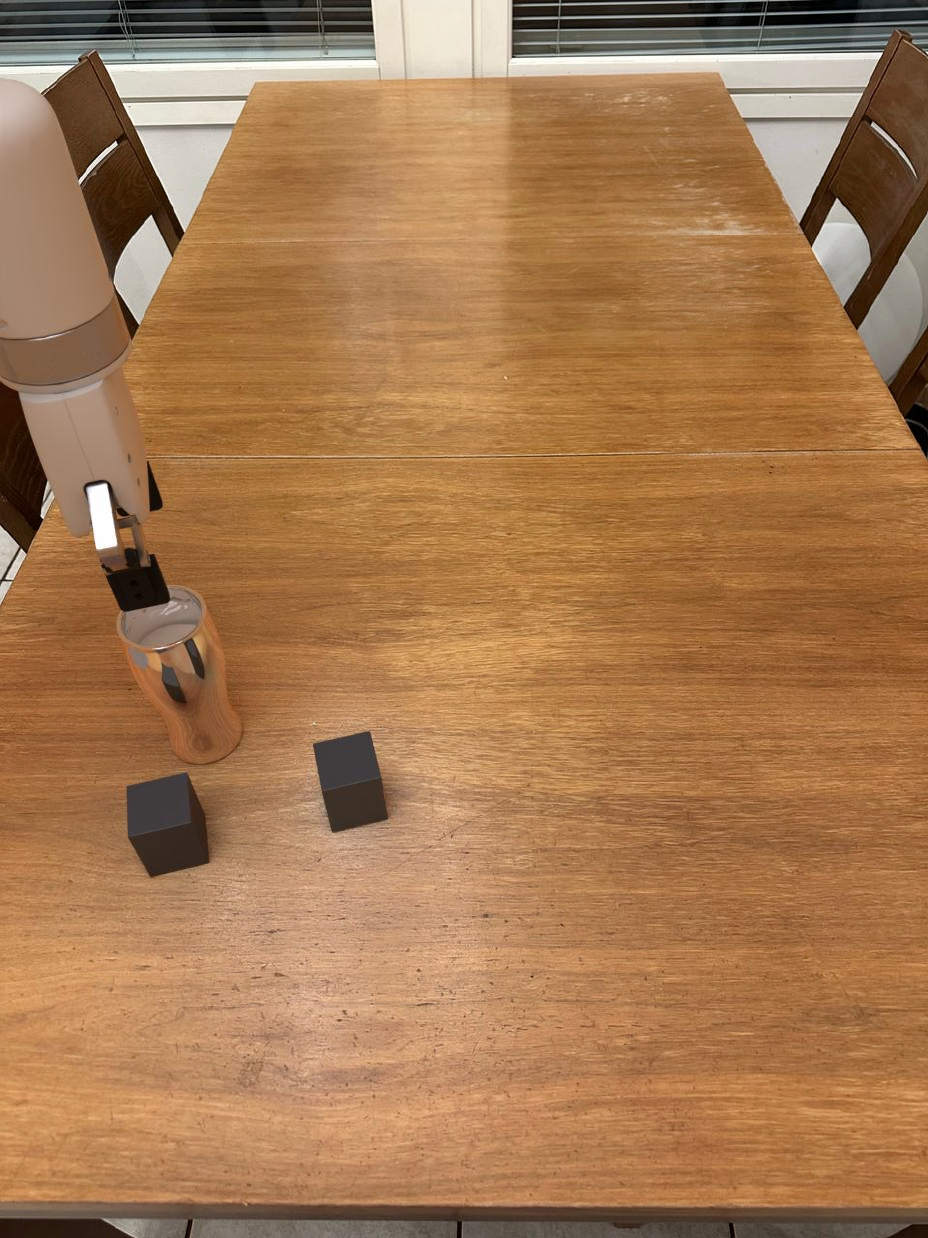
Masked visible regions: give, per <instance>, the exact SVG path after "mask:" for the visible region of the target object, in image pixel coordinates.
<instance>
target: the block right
mask: <svg viewBox="0 0 928 1238" xmlns="http://www.w3.org/2000/svg"><path fill="white" fill-rule="evenodd" d="M312 749H313V753H314V754H313V755H314V758H315V763H316V769H317V774H318V780H319V785H320V789H321V794H322V799H323V803H324V807H325V810H326V814H327V818H328V823H329V826H330V831H331V833H336V832H341V831H345V830H349V829H354V828H357V827H362V826H367V825H369V824H373V823H378V822H381V821H387V820H388V819H389V816H388V810H387V804H386V798H385V791H384V785H383V779H382V773H381V769H380V765H379V761H378V757H377V753H376V750H375V745H374V741H373V736H372V733H371V730H366V731H362V732H358V733H354V734H353V733H352V734H349V735H344V736H340V737H336V738H331V739H328V740H323V741H322V740H321V741H317V742H314V743H312Z"/></svg>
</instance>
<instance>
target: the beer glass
mask: <svg viewBox="0 0 928 1238" xmlns="http://www.w3.org/2000/svg"><path fill="white" fill-rule="evenodd" d="M166 585H167V588H168V591H169V593H170V601H169V602H168V603H166V604H162V605H157V606H153V607H148V608H143V609H138V610H133V611H129V612H124V611H122V610H121V609H120V610H119V613H118V615H117V617H116V623H115V624H116V625H115V627H116V632H117V635H118V637H119V639H120V643H121V647H122V649H123V653H124V657H125V659H126V661H127V664H128V667H129V669H130V671H131V674H132V675H133V677H134V679H135V681H136V683H137V685H138V686H139V688H140V690H141V691H142V692H143V694H144V695H145V697H146V698H147V699H148V700H149V701H150V703H151V704H152V706H153V707H154V708H155V710H157V712H159V714H160V716H161V717H162V718H163V719H164V721H165V723H166V726H167V729H168V731H167V732H168V741H169V745H170V748H171V750H172V752H173V753H174V754H175V755H176V756H177V758H179V759H180V760H181V761H183V762H186V763H187V764H188V763H189V764H192V765H206V764H212V763H214V762H217V761H219V760H221V759H223V758H225V757H226V756H228V755H229V754H230V753H232V751H234V750H235V748H237V746H238V744H239V743H240V741H241V738H242V735H243V723H242V720H241V717H240V716H239V714H238V713H237V711H236V710H235V708H234V707H233V706H232V704H231V702H230V699H229V695H228V689H227V688H228V686H227V685H228V684H227V683H228V682H227V668H226V659H225V653H224V649H223V645H222V641H221V638H220V634H219V632H218V630H217V629H218V628H217V626H216V624H215V622H214V620H213V618H212V615H211V614H210V611H209V609H208V607H207V604H206V602H205V599H204V597H203V596H202V595H201V594H200V593H199V592H198V591H196V590H195V589H193V588H191V587H188V586H184V585H180V584H166Z"/></svg>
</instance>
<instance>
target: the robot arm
mask: <svg viewBox="0 0 928 1238" xmlns="http://www.w3.org/2000/svg"><path fill="white" fill-rule="evenodd" d="M83 193H84V192H83V191H82V188H81V184H80V181H79V178H78V174H77V171H76V169H75V166H74V163H73V160H72V156H71V154H70V150H69V148H68V145H67V142H66V138H65V136H64V132H63V130H62V127H61V124H60V122H59V120H58V116H57V114H56V112H55V110H54V108H53V106H52V105H51V103H50V102H49V100H47V98H46V97H45V96H44V95H43V94H42V93H41V92H40V91H39V90H37V88H34V87H32V86H30V85H29V84H26V83H25V82H23V81H19V80H16V79H11V78H3V77H0V383H2V384H3V385H4V386H6V387H8V388H9V389H12V390H14V391H17V392H18V397H19V401H20V403H21V408H22V412H23V414H24V419H25V422H26V425H27V427H28V430H29V434H30V437H31V440H32V442H33V445H34V448H35V451H36V453H37V456H38V459H39V461H40V464H41V466H42V469H43V472H44V474H45V477H46V480H47V482H48V484H49V487H50V489H51V492H52V494H53V497H54V500H55V502H56V504H57V505H56V506H57V507H58V509H59V512H60V514H61V517H62V519H63V522H64V524H65V527H66V529H67V531H68V533H69V534H70V535H71V536H72V537H74V538H77V539H81V538H82V537H88V536H90V533H91V531H92V534H93V538H94V543H95V549H96V554H97V556H98V558H99V562H100V566H101V568H102V572H103V574H104V575H105V578H106V581H107V583H108V585H109V587H110V590H111V592H112V594H113V596H114V599H115V600H116V603H117V605H118V607H119V609H120V611H121V610H122V611H124V612H129V611H133V610H138V609H143V608H148V607H153V606H157V605H162V604H166V603H168V602H169V601H170V593H169V591H168V588H167V585H168V584H167V583H166V580H165V578H164V575H163V572H162V570H161V568H160V565H159V562H158V559H157V557H156V554H155V553H150V552H149V548H148V544H147V539H146V536H145V532H144V528H143V525H144V524H145V523H146V522H147V520H148V519H149V517H150V513H151V512H156V511H159V510H161V509H162V508H163V507H164V505H163V504H164V503H163V498H162V495H161V492H160V490H159V487H158V484H157V481H156V478H155V475H154V472H153V469H152V466H151V465H150V461H149V460H148V459H147V449H146V442H145V436H144V432H143V428H142V424H141V421H140V417H139V413H138V410H137V408H136V407H137V406H136V404H135V402H134V397H133V395H132V392H131V389H130V386H129V383H128V381H127V378H126V375H125V372H124V370H123V367H122V366H123V365H124V364H125V363H126V362H127V360H128V358H129V357H130V356H131V353H132V349H133V341H132V337H131V335H130V332H129V329H128V325H127V323H126V320H125V317H124V314H123V311H122V309H121V305H120V302H119V300H118V296H117V293H116V290H115V286H114V283H113V281H112V278H111V274H110V271H109V268H108V265H107V263H106V259H105V257H104V254H103V250H102V248H101V245H100V241H99V239H98V236H97V232H96V229H95V227H94V223H93V220H92V217H91V215H90V212H89V209H88V205H87V203H86V200H85V199H86V198H85V197H84V194H83ZM118 516H119V517H122V518H118ZM129 528H130V532H131V535H132V539H133V543H134V547H126V546H125V543H124V542H123V539H122V537H121V536H122V535H121V531H120V530H123V529H129Z"/></svg>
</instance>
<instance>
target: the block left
mask: <svg viewBox="0 0 928 1238" xmlns="http://www.w3.org/2000/svg"><path fill="white" fill-rule="evenodd" d="M125 790H126V820H127V821H126V822H127V823H126V824H127V825H126V826H127V839H128V840H129V842H130V844H131V846H132V848H133V849H134V851H135V852H136V854H137V856H138V858H139V860H140V862H141V863H142V865H143V867H144V869H145V870H146V872H147V874H148V876H149V877H150V878H152V877H156V876H161V875H164V874H165V875H166V874H169V873H173V872H176V871H181V870H185V869H188V868H193V867H197V866H198V867H199V866H201V865H205V864H209V863H210V853H209V844H208V831H207V821H206V813H205V811H204V808H203V806H202V804H201V801H200V798H199V797H198V794H197V792H196V790H195V787H194V785H193V782H192V780H191V778H190V775H189V773H188V772H182V773H178V774H173V775H170V776H164V777H160V778H157V779H151V780H147V781H146V780H145V781H142V782H138V783H134V784H129V785H126V789H125Z"/></svg>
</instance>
